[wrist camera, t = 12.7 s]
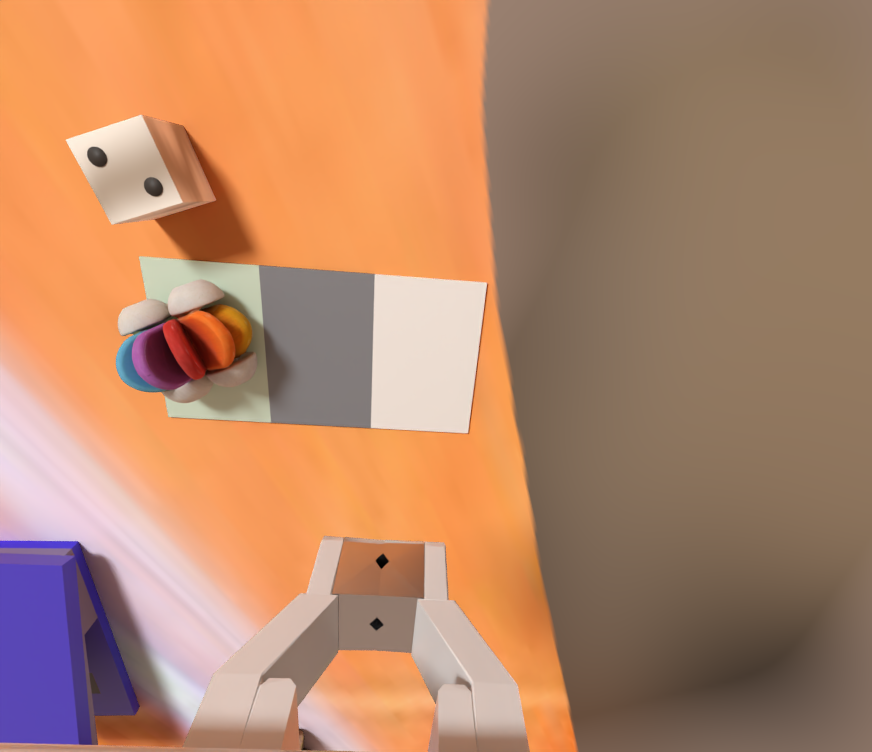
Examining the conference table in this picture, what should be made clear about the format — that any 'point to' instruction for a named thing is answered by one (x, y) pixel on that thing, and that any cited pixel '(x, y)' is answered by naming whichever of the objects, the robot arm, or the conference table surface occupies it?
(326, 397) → the game mat
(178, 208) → the die
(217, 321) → the rainbow segmented toy
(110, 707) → the stapler
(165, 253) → the conference table surface
